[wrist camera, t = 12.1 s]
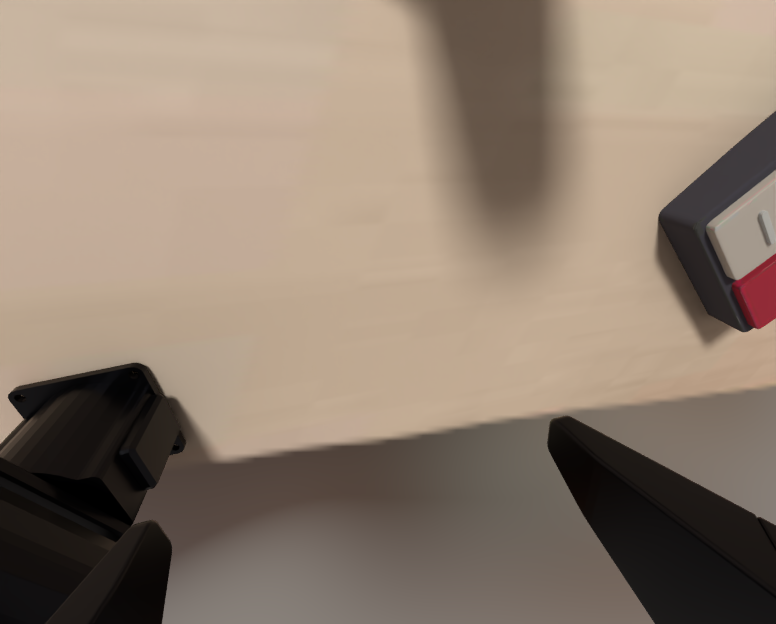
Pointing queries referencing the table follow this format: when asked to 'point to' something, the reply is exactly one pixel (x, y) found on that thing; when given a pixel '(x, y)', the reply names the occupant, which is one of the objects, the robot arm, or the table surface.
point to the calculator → (731, 231)
